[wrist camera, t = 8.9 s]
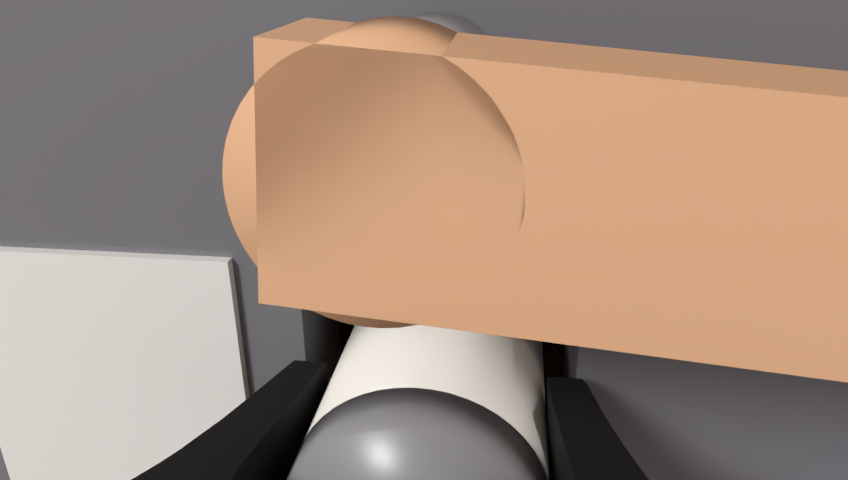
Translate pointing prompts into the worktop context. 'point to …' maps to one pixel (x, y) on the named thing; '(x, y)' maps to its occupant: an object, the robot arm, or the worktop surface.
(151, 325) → the socket panel
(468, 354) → the plug
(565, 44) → the tan long bar
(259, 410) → the robot arm
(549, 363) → the worktop surface
